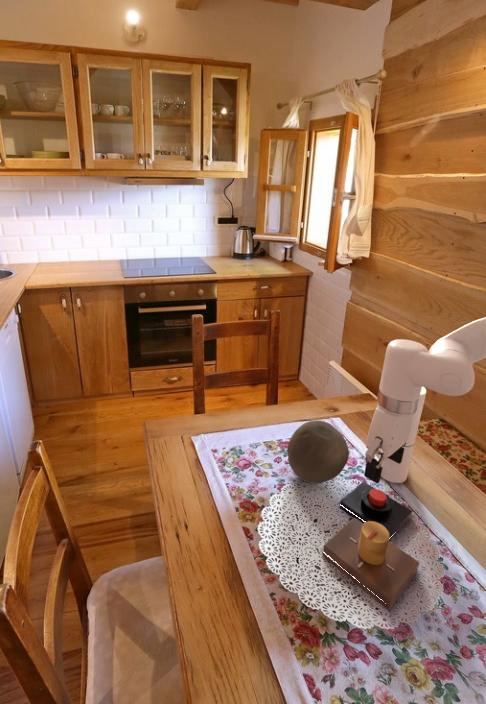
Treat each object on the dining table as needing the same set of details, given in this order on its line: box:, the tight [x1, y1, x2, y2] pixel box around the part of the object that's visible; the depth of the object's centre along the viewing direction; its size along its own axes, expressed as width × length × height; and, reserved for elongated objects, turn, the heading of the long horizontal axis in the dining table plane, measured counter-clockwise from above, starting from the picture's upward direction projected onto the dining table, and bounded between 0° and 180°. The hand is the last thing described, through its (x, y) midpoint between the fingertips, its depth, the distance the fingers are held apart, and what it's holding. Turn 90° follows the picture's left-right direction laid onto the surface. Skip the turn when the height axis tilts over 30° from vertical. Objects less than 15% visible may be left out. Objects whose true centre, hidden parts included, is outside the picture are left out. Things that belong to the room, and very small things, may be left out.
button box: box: [338, 481, 413, 542], centre depth 91 cm, size 12×10×4 cm
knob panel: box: [321, 518, 420, 611], centre depth 79 cm, size 14×11×3 cm
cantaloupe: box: [286, 419, 350, 484], centre depth 100 cm, size 14×14×15 cm
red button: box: [368, 488, 387, 507], centre depth 90 cm, size 4×4×2 cm
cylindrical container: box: [378, 386, 427, 484], centre depth 101 cm, size 7×7×25 cm
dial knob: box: [357, 521, 390, 565], centre depth 78 cm, size 5×5×6 cm
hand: (383, 469), depth 88 cm, fingers open, 9 cm apart
